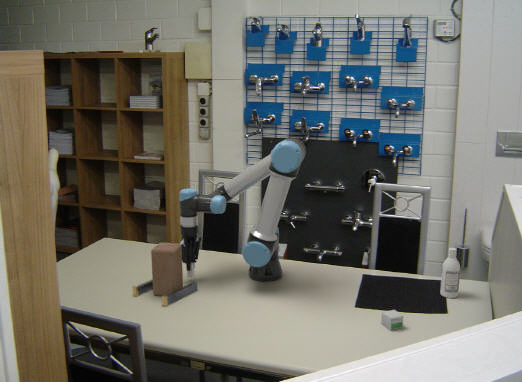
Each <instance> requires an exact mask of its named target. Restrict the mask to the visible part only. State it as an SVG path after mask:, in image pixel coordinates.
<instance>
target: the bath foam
mask: <svg viewBox="0 0 522 382" xmlns="http://www.w3.org/2000/svg"><path fill="white" fill-rule="evenodd" d="M447 255H448V257H447V258H446V259H445V260H444V261H443V262H442V266H441V279H440V289H439V290H440V291H439V292H440V295H441V296H442V297H444V298H448V299H455V298H457V297H459V290H460V289H459V288H460V278H461V277H460V276H461V265H460V261H458V259H457V248H456V247H449V248H448V254H447Z"/></svg>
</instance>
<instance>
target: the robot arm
mask: <svg viewBox="0 0 522 382" xmlns="http://www.w3.org/2000/svg"><path fill="white" fill-rule="evenodd" d="M306 153H307V151H306V146H305V143H304V142H303V141H302V140H301V139H299V138H297V137H291V136H290V137H287V138H284V139H283V140H281V141H280V142H278V143H277V144H276V145H275V146H274V148H273V149H271V152H270V154H268V155H267V156H264V157H263V158H262V159H260V160H259V161H257V162H256V163H254V164H253V165H251V166H250V167H248V168H247V169H245V170H244V171H242V172H241V173H239V174H238V175H236V176H235V177H232V178H231V179H230V180H228V181H226V182H225V183H224V184H223V185H221V186H218V187H217V188H215V189H214V190H213V191H212V192H211V193H209V194H198V190H197V189H196V188H190V187H189V188H183V189H181V190H180V191H179V198H178V201H179V220H180V221H179V222H180V227H179V228H180V234H181V241H180V243H177V244H181V246H182V264H185V266H186V267H185V268H186V271H187V272H186V275H187V278H191V279H192V278H193V279H194V278H195V267H196V265H195V263H197V260H198V259H199V254H200V246H201V241H202V237H200V236H198V233H199V225H198V224H199V213H201V214H202V213H205V214H214V215H216V214H223V213H225V211H226V209H227V208H226V207H227V203H229V202H230V201H232V200H233V199H235V198H236V197H238V196H240V195H241V194H244V192H245V191H247V190H249V189H251V188H252V187H254V186H256V185H257V184H258V183H260V182H262V181H263V180H265V179H266V178H268V177H269V176H270V177H269V180H268V183H267V187H266V190H265V194H264V197H263V199H262V202H261V207H260V209H259V214H258V216H257V220H256V223H255V225H254V226H252V228H251V229H250V231H249V235H248V237H247V240H246V243H245V244H244V246H243V248H242V257H243V260H244V261H245V263H246V264H248V265H249V269H248V277H249V278H250V279H252V280H254V281H257V282H273V281H276V280H277V281H278V280H279V279H281V278H282V277H283V268H282V265H281V263H280V259H279V257H280V256H279V251H280V250H279V245H280V244H279V243H280V238H279V237H280V231H279V230H280V229H279V227H278V224H279V222H280V219H281V215H282V212H283V209H284V205H285V202H286V199H287V195H288V193H289V189H290V187H291V184H292V183H291V182H292V181H293V180H294V179H296V178H297V177H298V173H299V170H300V167H301V164H302V162H303V161H304V159H305V157H306Z"/></svg>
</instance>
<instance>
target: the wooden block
mask: <svg viewBox="0 0 522 382" xmlns="http://www.w3.org/2000/svg"><path fill="white" fill-rule="evenodd" d="M150 255H151V273H152V279H153V289H152V293H153V295H154V296H161V297H162V296H163V295H168V294H170V293H172V292H174V291H176V290H178V289H180V288H183V287H184V279H183V278H184V275H183V262H182V246H181V244H180V243H179V244H178V243H177V242H176V243H175V242H174V243H173V242H159V243H158V244H156V245H155V246H154V247H153V248H151V250H150Z"/></svg>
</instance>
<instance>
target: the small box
mask: <svg viewBox="0 0 522 382" xmlns="http://www.w3.org/2000/svg"><path fill="white" fill-rule="evenodd" d="M380 323H381V325H382V326H383V327H385V328H386V329H387V330H389V331H394V330H398V329H402V328H403V327H404V326H403V325H404V315H403V314H402V313H400V312H398V311H397V310H396V309H392V310H387V311H383V312H381V322H380Z"/></svg>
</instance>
